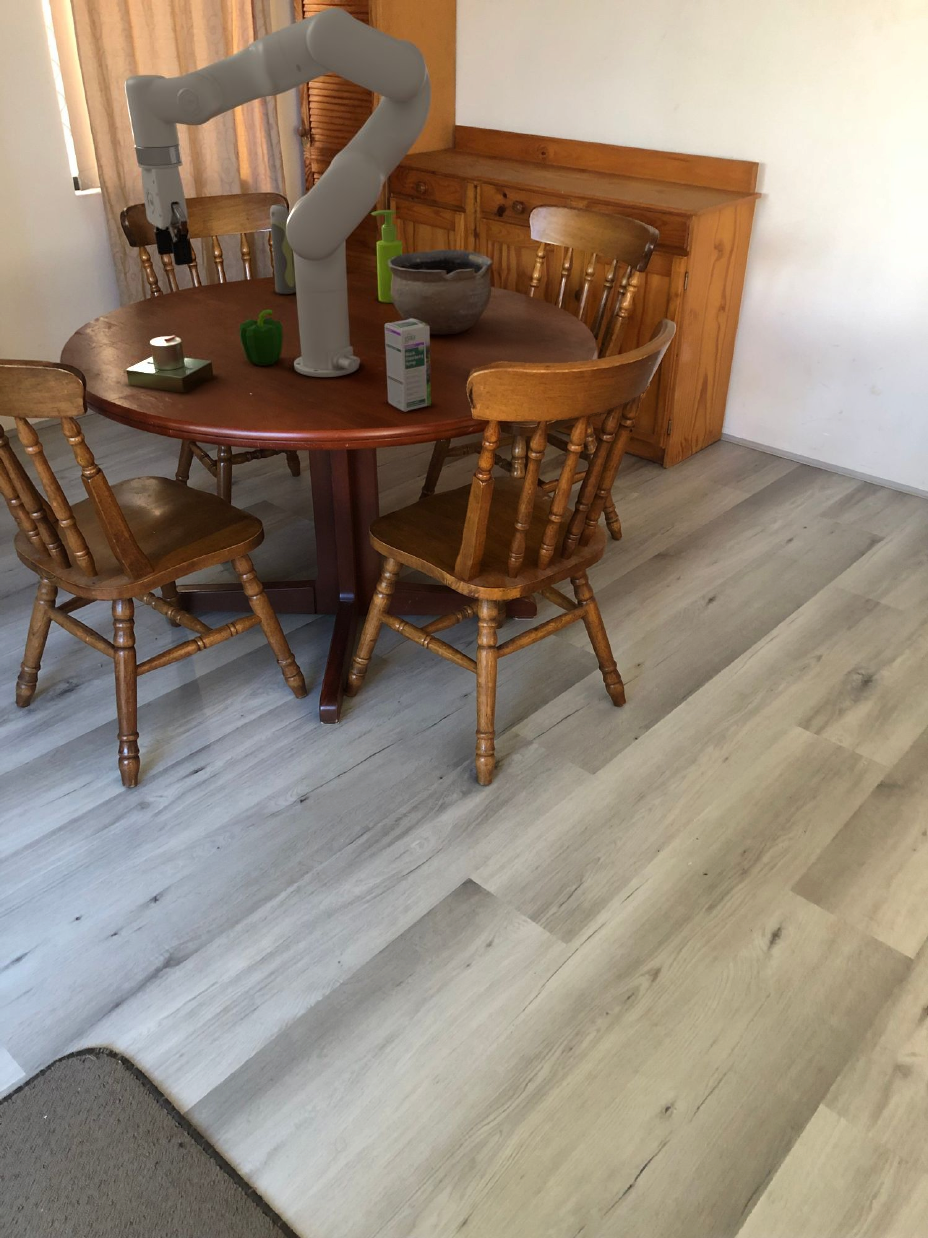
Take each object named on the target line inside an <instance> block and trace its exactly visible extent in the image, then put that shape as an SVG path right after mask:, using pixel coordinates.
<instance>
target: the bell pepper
mask: <svg viewBox="0 0 928 1238" xmlns="http://www.w3.org/2000/svg"><path fill="white" fill-rule="evenodd" d="M272 314H273V310H272V309H265V310H262V311H261V312H260V313H259V314H258V319H257V320H255V319H253V318H247V319H246V320H245V321H244V322H243V323H240V325H239V328H238V334H239V340H240V344H241V346H242V350H243V352H244V355H245V358H246V359H247V360H248V362H249V363H253V364H255V365H257V366H271V365H274V364H275V363H276V362H277V361H278V360H279V359H280V357H281V356H282V355H281V354H282V350H283V349H282V348H283V340H284V329H283V326H282V323H281V321H280V320H274V319H273V318H272V317H267V318H265V317H266V316H267V315H269V316H271V315H272Z"/></svg>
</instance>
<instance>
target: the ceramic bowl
mask: <svg viewBox="0 0 928 1238" xmlns="http://www.w3.org/2000/svg"><path fill="white" fill-rule="evenodd" d="M493 261H494V260H493V259H492V258H490V257H489V256H486V255H484V254H481V253H478V252H474V251H470V250H462V249H441V250H440V249H435V250H424V251H416V252H415V251H414V252H410V253H402V254H401V255H398V256H395V257H394V258H392V259H389V261H388V265H389V267H390V270H391V272H392V281H391V298H392V302H393V303H392V305H393V306H394V307H395V309H396V310H397V312H398V314H399V315H400V316H401V318H402V319H403V320H409V319H411V318H412V319H416V320H419V321H422V322H424V323H426V324H427V325H429V332H430V335H439V336H442V335H445V336H446V335H447V336H448V335H456V334H460V333H463V332H465V331H467V330H469V329H470V328H471V327H473V326H474V325H475V324H476V323H477V322H478V321H479V319H480V318H481V317H482V316H483V314H484V312H485V310H486V308H487V307H488V305H489V303H490V299H491V295H492V283H491V277H490V270H491V268H492V265H493Z"/></svg>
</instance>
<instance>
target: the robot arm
mask: <svg viewBox="0 0 928 1238" xmlns="http://www.w3.org/2000/svg"><path fill="white" fill-rule="evenodd" d="M330 73H333V74H334V75H337V76H338V77H341V78H342V79H345V80H347V81H348V82H351V83H354V84H355V85H358V86H360V87H362V88H364V89H366V90H368V91H371V92H373V93H375V94H377V95H379V96H381V98H380V101H379V103H378V105H377V107H376V108H375V109H374V111H373V112H372V113H371V115H370V116H369V117H368V119H366V122H365V123H364V124H363V125H362V127H361V128H360V129H359V130H358V132H357V133H356V134H355V135H354V136H353V137H352V139H351V140H350V141H349V142H348V143H347V145H346V146H345V147H344V148H343V149H342V150H340V151H339V152H338V153H337V154H336V155H335V156H334V157H333V159H332V160H331V163H330V164H329V166H328V167H327V169H326V170H325V171H324V172H323V174H322V175H321V176H320V177H319V179H318V180H317V181H316V183H315V184H314V185H313V186H312V187H311V189H310V190H309V191H308V192H307V194H304V195H303V196H301V197H300V198H299V199H298V200H297V201H296V202H295V204H294V205H293V207H292V209H291V211H290V213H289V218H288V221H287V225H286V236H287V240H288V243H289V245H290V247H291V248H292V252H293V263H294V274H295V284H296V291H295V293H296V295H295V296H296V303H297V304H296V306H297V318H298V330H299V342H300V343H299V344H300V355H301V356H299V357H297V358H296V359H295V360H294V362H293V366H294V367H293V368H294V370H295V371H296V372H297V373H298V374H301V375H303V376H308V377H313V378H335V377H341V376H346V375H349V374H352V373H354V372H356V370H358V369H359V368H360V364H361V358H360V357H357V356H354V347H353V346H351V338H350V335H351V334H350V319H349V317H350V316H349V300H348V299H349V298H348V278H347V277H348V276H347V257H346V256H347V255H346V254H347V253H346V249H347V248H346V240H347V239H348V238H349V237H350V235H351V234H353V232H354V231H355V230H356V229H357V227H358V226H359V225H360V224H361V223H362V221H363V220H364V219H365V218H366V217H367V215H369V213H370V212H371V211H372V209H373V208H374V206H375V205H376V203H377V202H378V200H379V199H380V196H381V193H382V190H383V186H384V184H385V182H386V181H387V180H388V178H389V177H390V176H391V174H392V173H393V172H394V171H395V170H396V168H397V167H398V166H399V165H400V163H401V162H402V160H403V159H404V158H405V157H406V155H407V154H408V153H409V151H411V149H412V148H413V146H414V145H415V144H416V142H417V141H418V139H419V138H420V136H421V135H422V133H423V130H424V129H425V126H426V124H427V121H428V117H429V115H430V110H431V103H432V85H431V84H432V83H431V79H430V74H429V71H428V67H427V63H426V60H425V57H424V55H423V53H422V51H421V49H420V48H419V47H418V46H417V45H415V44H414V43H413V42H412V41H409V40H406V39H398V38H397V37H394V36H392V35H389V34H388V33H385V32H383V31H382V30H379V29H377V28H374V27H372V26H370V25H368V24H366V23H364V22H362V21H361V20H358V19H356V18H355V17H353V16H352V15H351V14H350V13H349V12H348V11H346V10H345V9H343V8H340V7H329V8H325V9H323V10H321V11H319V12H317V13H314V14H313V15H310V16H308V17H305V18H303V19H301V20H298V21H296V22H294V23H291V24H290V25H287V26H285V27H283V28H280V29H278V30H275V31H274V32H271V33H268V34H266V35H264V36H261V37H260V38H257V39H256V40H254V41H252V42H251V43H250V44H249V45H247V46H246V47H244V48H243V49H241V50H240V51H238V52H236V53H234V54H232V55H229V56H227V57H225V58H222V59H220V60H217V61H216V62H213V63H211V64H209V65H207V66H204V67H202V68H200V69H197V70H194V71H192V72H189V73H186V74H184V75H180V76H179V75H178V76H174V77H166V76H163V75H159V74H139V75H132V76H128V77H127V78H126V80H125V81H124V92H125V98H126V103H127V111H128V115H129V121H130V127H131V132H132V139H133V144H134V150H135V155H136V156H135V157H136V161H137V168H140V169H141V182H142V192H143V198H144V207H145V214H146V219H147V221H148V222H149V223H150V224H151V225H153V227H152V228H153V231H154V237H155V243H156V250H157V254H158V255H160V256H167V255H173V260H174V264H175V266H178V267H179V266H184V265H185V266H186V265H192V264H193V263H194V257H193V251H192V245H191V237H190V233H189V232H190V230H189V228H188V225H189V216H188V209H187V208H188V207H187V201H186V196H185V192H184V191H185V190H184V186H183V182H182V177H181V173H180V172H181V171H180V169H179V167H182V166H183V158H182V150H181V145H180V138H179V131H178V125H177V124H179V125H186V126H202V125H204V124H206V123H207V122H209V121H211V120H212V119H215V117H217V116H220V115H222V114H224V113H227V112H228V111H231V110H234V109H236V108H237V107H240V106H243V105H245V104H248V103H250V102H252V101H255V100H259V99H261V98H267V97H273V96H274V97H275V96H278V95H280V94H284V93H286V92H289V91H290V90H293V89H295V88H297V87H300V86H302V85H304V84H307V83H309V82H311V81H314V80H316V79H319V78H321V77H323V76H326V75H328V74H330Z"/></svg>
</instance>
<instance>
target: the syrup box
mask: <svg viewBox="0 0 928 1238" xmlns="http://www.w3.org/2000/svg"><path fill="white" fill-rule="evenodd" d="M430 335H431V334H430V332H429V325H427V324H426V323H424V322H422V321H419V320H416V319H412V318H411V319H409V320H404V319H403V320H398V321H392V322H387V323H385V324H384V344H385V361H386V363H385V364H386V384H387V402H388V404H390V405H392V406H393V407H395V408H396V409H398V410H399V411H400V410H401V411H402V412H409V411H413V410H417V409H421V408H425V407H430V406H431V405H432V391H431V390H432V387H431V386H432V384H431V337H430Z"/></svg>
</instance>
